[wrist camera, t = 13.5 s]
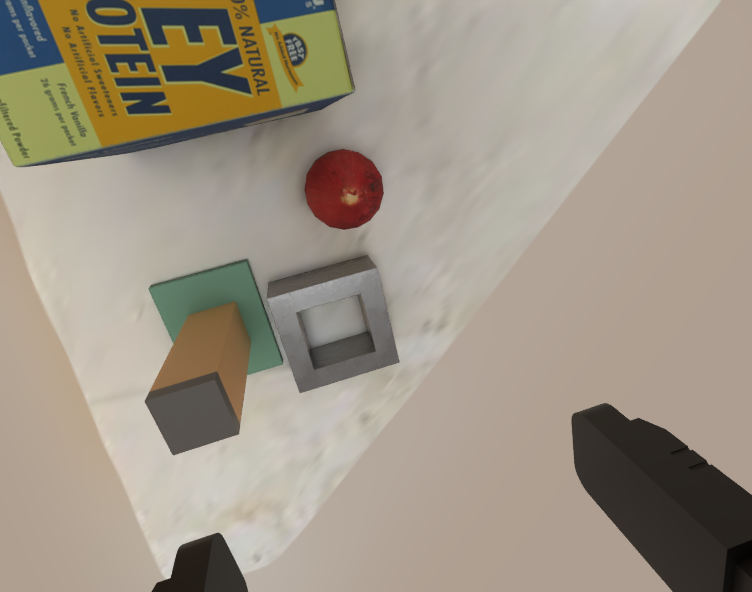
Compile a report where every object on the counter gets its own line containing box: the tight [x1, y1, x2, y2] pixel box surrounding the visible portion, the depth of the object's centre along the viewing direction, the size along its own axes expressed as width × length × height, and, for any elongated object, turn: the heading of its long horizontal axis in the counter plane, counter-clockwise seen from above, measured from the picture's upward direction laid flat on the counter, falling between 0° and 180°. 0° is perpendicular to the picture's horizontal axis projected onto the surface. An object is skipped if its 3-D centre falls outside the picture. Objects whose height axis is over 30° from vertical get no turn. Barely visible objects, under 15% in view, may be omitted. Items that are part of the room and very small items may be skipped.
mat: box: [149, 260, 283, 375], centre depth 38 cm, size 10×8×1 cm
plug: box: [145, 301, 251, 455], centre depth 32 cm, size 4×4×13 cm
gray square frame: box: [267, 255, 399, 393], centre depth 39 cm, size 9×9×4 cm
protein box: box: [0, 0, 355, 167], centre depth 25 cm, size 10×15×16 cm
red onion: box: [305, 149, 384, 230], centre depth 33 cm, size 6×6×8 cm
